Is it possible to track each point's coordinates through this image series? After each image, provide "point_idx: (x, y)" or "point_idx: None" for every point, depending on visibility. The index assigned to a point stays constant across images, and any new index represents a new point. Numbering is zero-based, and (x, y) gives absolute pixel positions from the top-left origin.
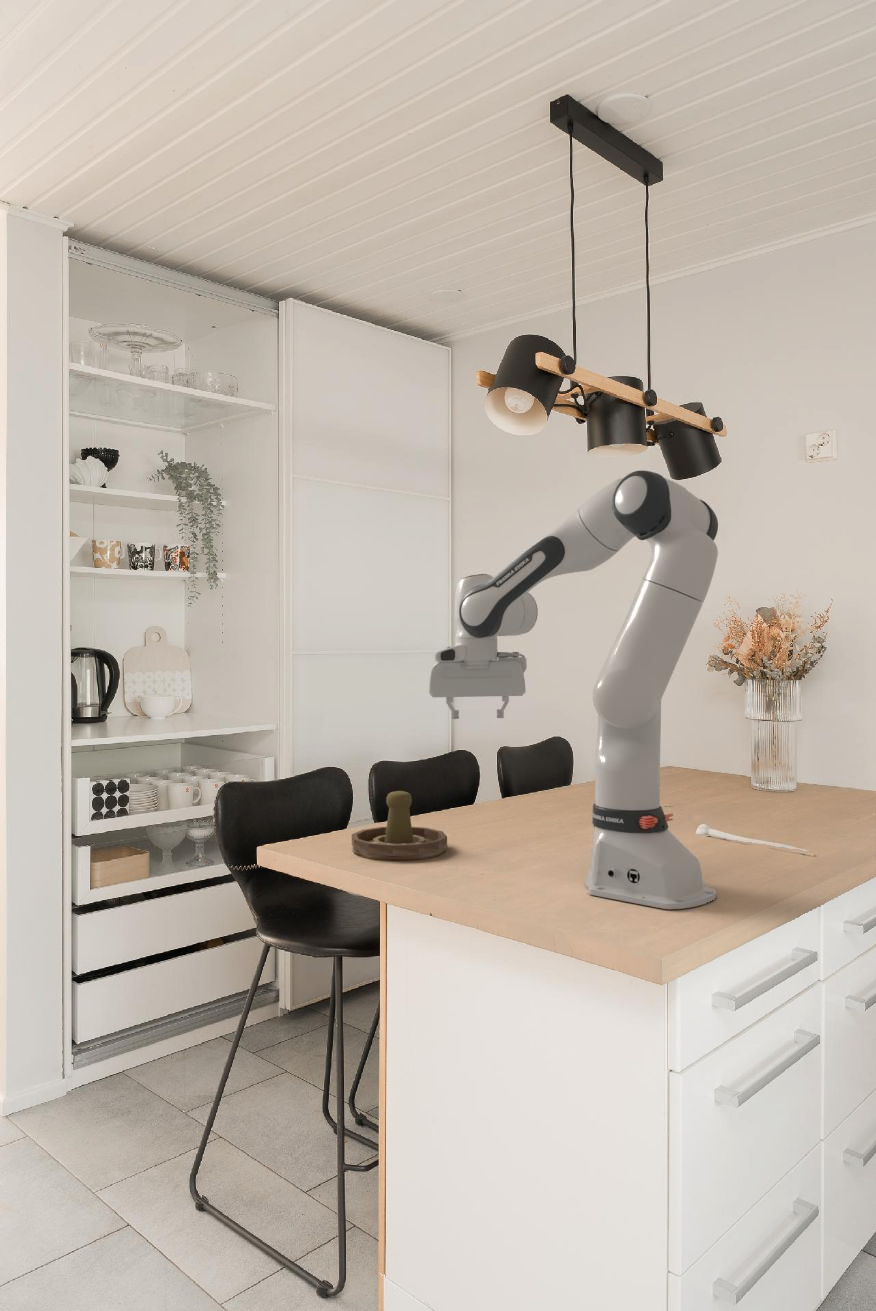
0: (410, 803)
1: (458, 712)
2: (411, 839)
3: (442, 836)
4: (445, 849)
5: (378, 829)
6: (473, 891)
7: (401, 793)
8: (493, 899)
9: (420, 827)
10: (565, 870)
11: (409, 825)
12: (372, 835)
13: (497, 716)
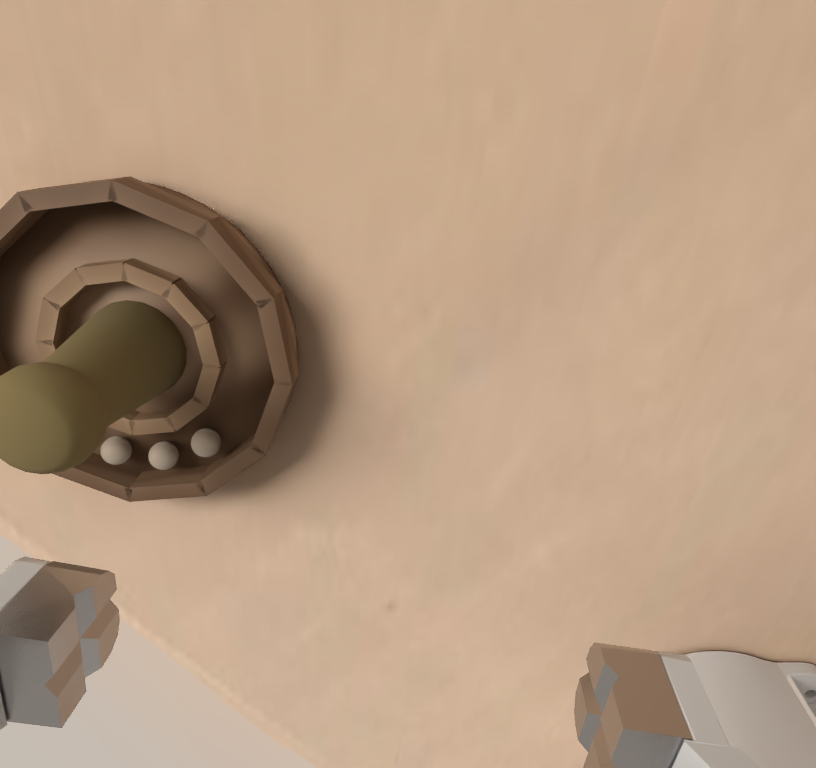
0: (103, 433)
1: (75, 706)
2: (171, 377)
3: (275, 383)
4: (297, 349)
5: (17, 225)
6: (359, 716)
7: (41, 464)
8: (394, 759)
9: (180, 213)
10: (611, 590)
11: (142, 398)
12: (12, 239)
13: (581, 726)
